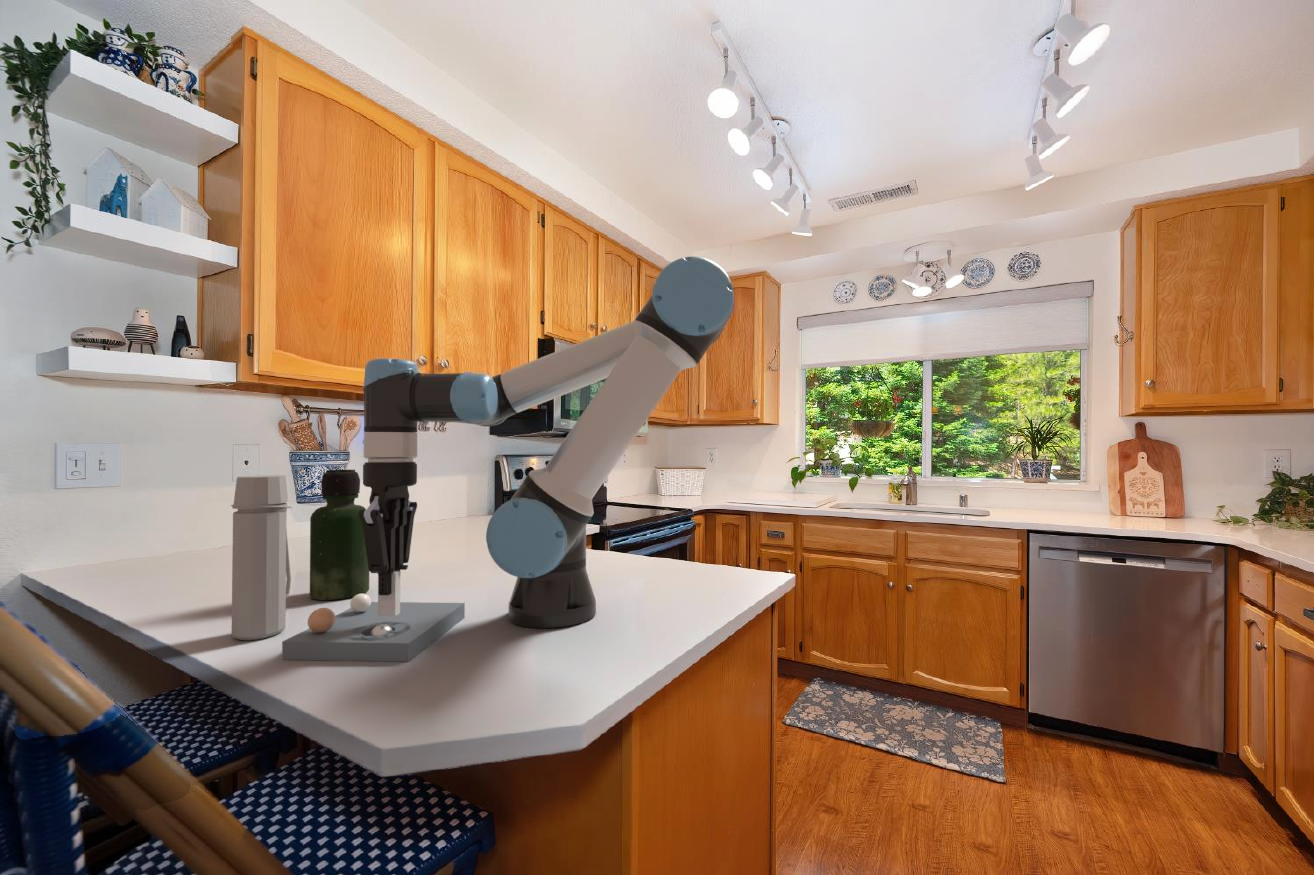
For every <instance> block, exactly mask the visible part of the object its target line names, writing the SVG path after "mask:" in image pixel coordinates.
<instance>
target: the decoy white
mask: <svg viewBox="0 0 1314 875" xmlns="http://www.w3.org/2000/svg"><path fill="white" fill-rule="evenodd" d="M371 602H372V600H371V597H370V596H369V595H368V594H366V593H364V594H357V595H356V596H354V597H352V598H351V600H350V608H352V610H353V611H355V612H358V613H361V612H364V611H366V610H367V609H368V608H369V607H370V605H371Z"/></svg>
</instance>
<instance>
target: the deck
mask: <svg viewBox="0 0 1314 875" xmlns="http://www.w3.org/2000/svg"><path fill="white" fill-rule="evenodd" d="M465 604H466V602H419V601H418V602H414V601H413V602H411V601H410V602H408V601H407V602H406V601H402V602H401V601H400V614H398V615H396V616H378V601H371V605H370V607H369V608H368V609H367V610H366V611H364V612H361V613H358V612H355V611H353V610H352V608H351V607H350V608H349V609H347V610H344V611H342V612H340V613H337V614H336V615H335V623H334V625H333V626H332V628H331V629H329V630H328V631H326V632H323V633H316V632H313V631H312V630H310V628H309V627H308V628H307V629H305V630H303V631H301V632H299V633H296V634H294V635H292V636H291V637H289V638H287V639H285V640H283V641H282V642H281V643H282V644H281V648H282V650H281V654H282V655H281V660H284V661H285V660H288V661H291V660H293V661H294V660H295V661H349V662H350V661H353V662H355V661H356V662H360V661H361V662H404V663H405V662H410V661H411V660H412V659H414V658H415V657H416V656H417V655H419V654H420V653H421V652H423V651H424V650H425V649H427V648H428V647H429V646H430V645H432V644H433V643H434V642H435V641H437V640H438V639H439V638H441V636H443V635H444V634H445V633H447V632H448V631H449V630H451V629H452V628H453V627H454V626H455V625H457V624H458V623H460V622H461V621H462V620H463V619H465V615H466V614H465V610H466V609H465ZM381 624H386V625H389V626H390V627H391V628H392V629H393V632H391V633H388V634H384V635H378V636H370V633H371V631H372V630H373V629H374V628H375V627H376V626H378V625H381Z"/></svg>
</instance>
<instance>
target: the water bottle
mask: <svg viewBox="0 0 1314 875" xmlns="http://www.w3.org/2000/svg"><path fill="white" fill-rule="evenodd" d="M286 476H287V475H281V474H280V475H279V474H276V475H275V474H274V475H272V474H271V475H269V474H267V475H264V474H263V475H244V476H243V475H241V476H237V477H236V480H235V481H236V483H235V492H234V497H233V504H231V505H230V506H231V507H232V509H233V510H235V511H234V512H233V513H232V557H231V558H232V559H231V560H232V565H231V566H232V568H231V569H232V571H231V572H232V573H231V574H232V575H231V576H232V578H231V585H232V586H231V636H232V637H233V638H234V639H236V640H240V641H256V640H262V639H268V638H271V637H274V636H276V635H278V634H279V633H282V632H283V631H284V630H285V629H286V615H287V614H286V613H287V611H286V605H287V604H286V601H287V600H286V597H287V596H289V595H290V592H291V591H290V590H291V583H292V582H291V581H292V577H291V576H292V575H291V565H290V554H289V541H288V533H287V532H288V529H287V511H288V509H292V506H291V505H288V503H289V497H288V487H287V486H288V484H287V477H286Z"/></svg>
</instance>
